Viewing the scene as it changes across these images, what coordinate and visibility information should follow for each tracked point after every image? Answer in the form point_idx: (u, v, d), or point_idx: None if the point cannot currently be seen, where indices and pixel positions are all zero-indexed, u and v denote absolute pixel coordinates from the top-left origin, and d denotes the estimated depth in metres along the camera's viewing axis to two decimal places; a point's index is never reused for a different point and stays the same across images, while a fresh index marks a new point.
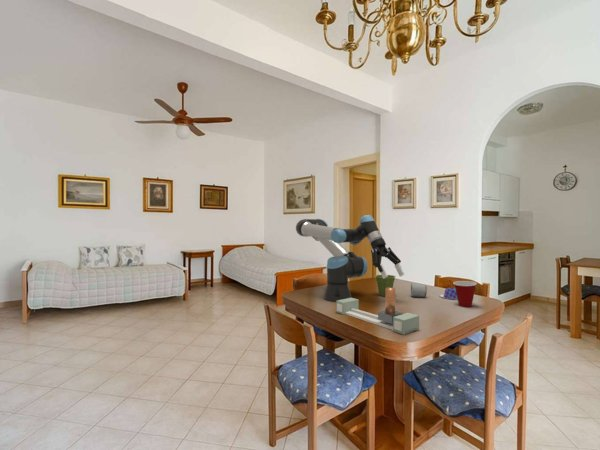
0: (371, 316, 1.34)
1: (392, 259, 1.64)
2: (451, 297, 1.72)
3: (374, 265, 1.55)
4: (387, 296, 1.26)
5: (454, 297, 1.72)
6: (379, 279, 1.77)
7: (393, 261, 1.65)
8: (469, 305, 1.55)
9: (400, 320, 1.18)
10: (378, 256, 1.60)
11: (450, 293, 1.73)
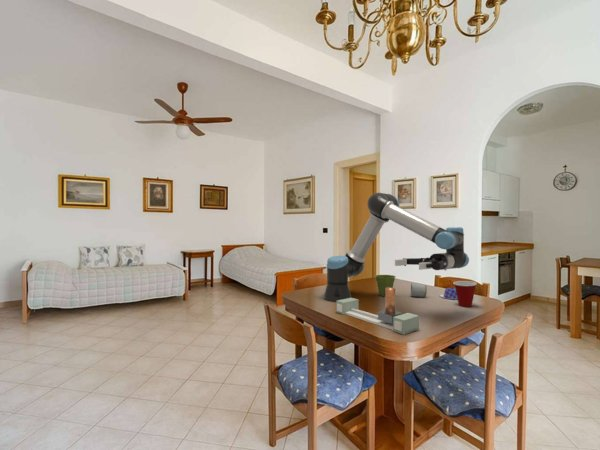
0: (371, 316, 1.34)
1: (413, 262, 1.40)
2: (451, 297, 1.72)
3: (438, 264, 1.26)
4: (387, 296, 1.26)
5: (454, 297, 1.72)
6: (379, 279, 1.77)
7: (410, 261, 1.41)
8: (469, 305, 1.55)
9: (400, 320, 1.18)
10: None
11: (450, 293, 1.73)
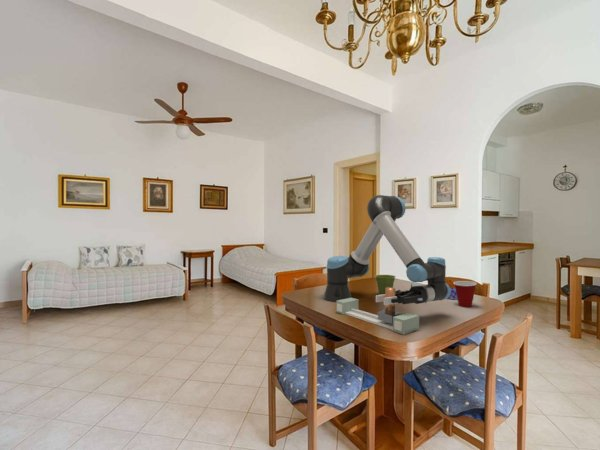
0: (371, 316, 1.34)
1: None
2: (450, 297, 1.72)
3: (403, 299, 1.23)
4: (387, 296, 1.26)
5: (453, 297, 1.72)
6: (379, 279, 1.77)
7: None
8: (469, 305, 1.55)
9: (400, 320, 1.18)
10: None
11: None
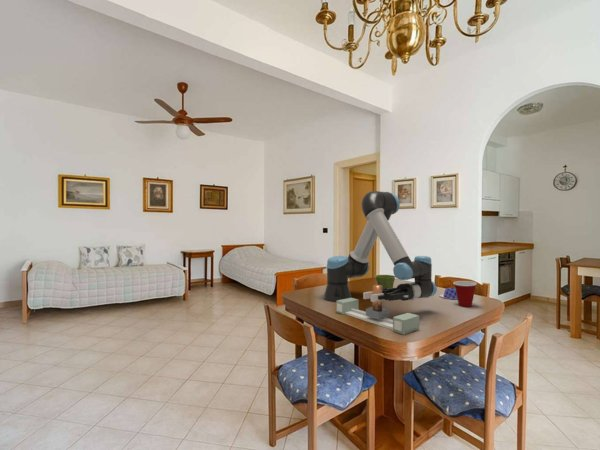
0: None
1: (383, 294, 1.37)
2: (450, 297, 1.72)
3: (389, 296, 1.29)
4: (374, 293, 1.31)
5: (453, 297, 1.72)
6: (379, 279, 1.77)
7: None
8: (469, 305, 1.55)
9: (400, 320, 1.18)
10: None
11: (449, 292, 1.73)
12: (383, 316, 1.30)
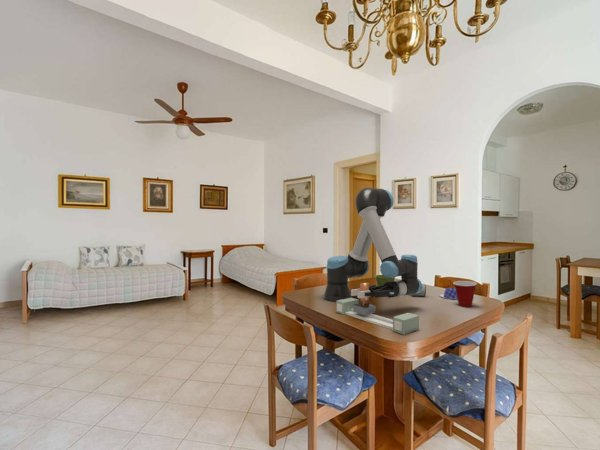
0: (371, 316, 1.34)
1: (370, 291, 1.43)
2: (450, 297, 1.72)
3: (375, 293, 1.35)
4: (361, 290, 1.37)
5: (453, 297, 1.72)
6: (379, 279, 1.77)
7: None
8: (469, 305, 1.55)
9: (400, 320, 1.18)
10: None
11: (449, 292, 1.73)
12: (369, 312, 1.35)
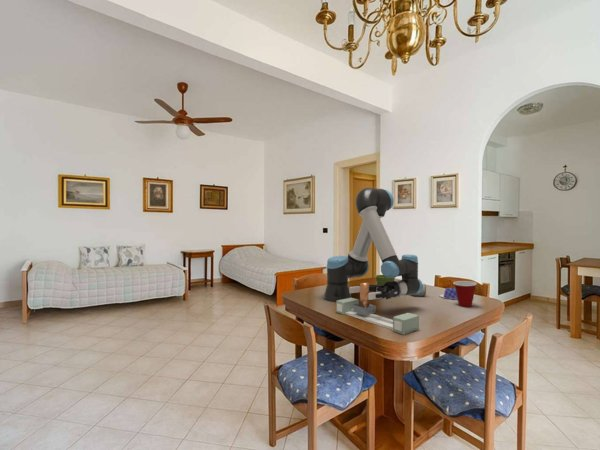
0: (371, 316, 1.34)
1: None
2: (450, 297, 1.73)
3: (386, 294, 1.32)
4: (361, 290, 1.37)
5: (453, 297, 1.72)
6: (379, 279, 1.77)
7: None
8: (469, 305, 1.55)
9: (400, 320, 1.18)
10: (386, 292, 1.38)
11: (448, 292, 1.73)
12: (369, 312, 1.35)
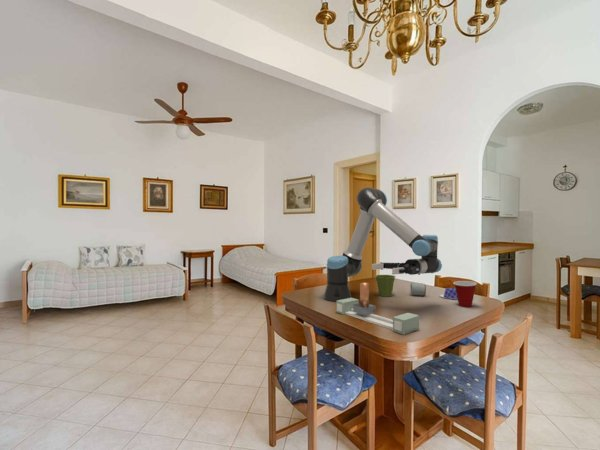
0: (371, 316, 1.34)
1: (389, 266, 1.51)
2: (449, 297, 1.73)
3: (410, 270, 1.37)
4: (361, 290, 1.37)
5: (452, 297, 1.72)
6: (379, 279, 1.77)
7: (387, 265, 1.52)
8: (469, 305, 1.55)
9: (400, 320, 1.18)
10: (408, 269, 1.44)
11: (448, 292, 1.73)
12: (369, 312, 1.35)
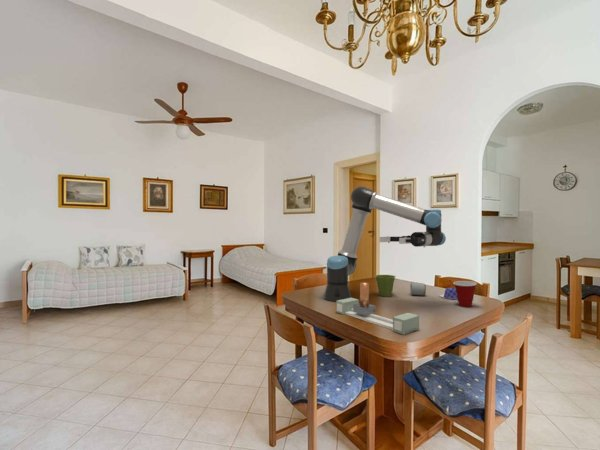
0: (371, 316, 1.34)
1: (396, 239, 1.59)
2: (449, 297, 1.73)
3: (416, 239, 1.45)
4: (361, 290, 1.37)
5: (452, 297, 1.72)
6: (379, 279, 1.77)
7: (393, 238, 1.59)
8: (469, 305, 1.55)
9: (400, 320, 1.18)
10: None
11: (448, 292, 1.74)
12: (369, 312, 1.35)
